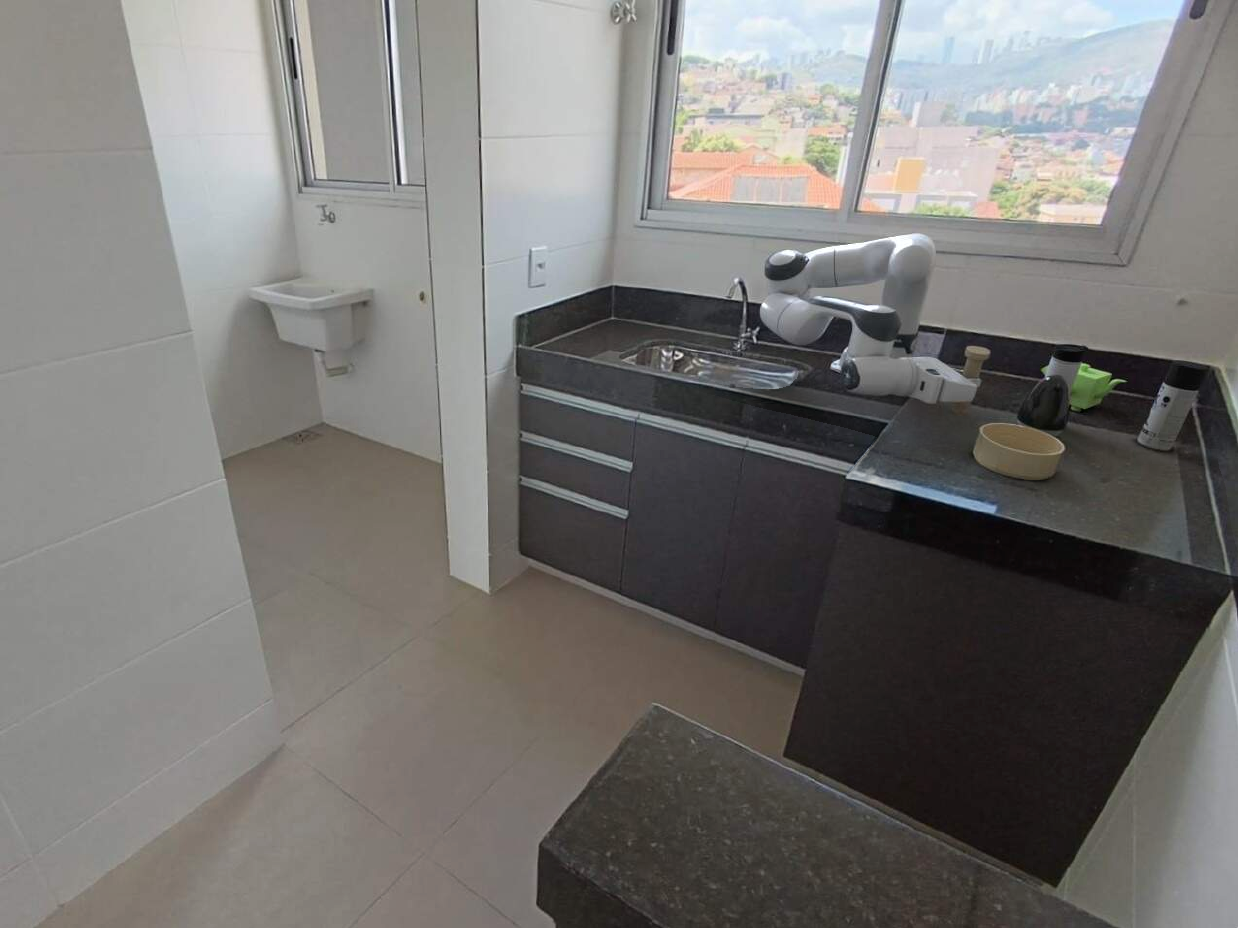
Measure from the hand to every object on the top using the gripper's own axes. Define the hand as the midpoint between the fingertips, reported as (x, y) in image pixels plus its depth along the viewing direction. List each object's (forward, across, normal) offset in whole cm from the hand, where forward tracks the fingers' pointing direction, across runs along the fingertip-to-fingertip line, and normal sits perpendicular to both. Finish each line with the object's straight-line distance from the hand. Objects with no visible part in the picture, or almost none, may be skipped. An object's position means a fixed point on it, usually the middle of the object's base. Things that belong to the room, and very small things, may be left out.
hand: (973, 378), depth 154 cm
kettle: (+43, -20, -14) cm, 49 cm away
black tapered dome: (+20, 0, -14) cm, 24 cm away
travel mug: (+27, -8, -14) cm, 31 cm away
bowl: (+5, +15, -14) cm, 21 cm away
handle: (-1, 0, -8) cm, 9 cm away
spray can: (+46, +5, -14) cm, 48 cm away
